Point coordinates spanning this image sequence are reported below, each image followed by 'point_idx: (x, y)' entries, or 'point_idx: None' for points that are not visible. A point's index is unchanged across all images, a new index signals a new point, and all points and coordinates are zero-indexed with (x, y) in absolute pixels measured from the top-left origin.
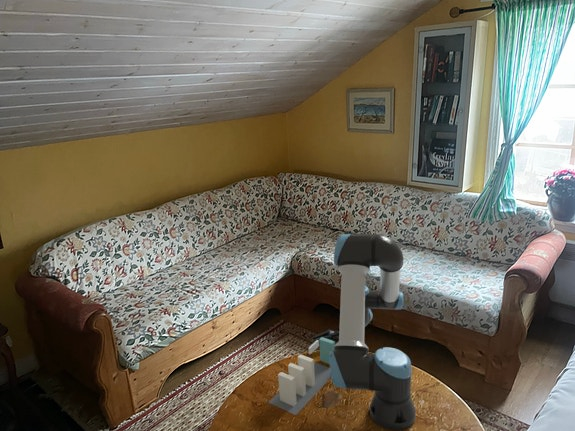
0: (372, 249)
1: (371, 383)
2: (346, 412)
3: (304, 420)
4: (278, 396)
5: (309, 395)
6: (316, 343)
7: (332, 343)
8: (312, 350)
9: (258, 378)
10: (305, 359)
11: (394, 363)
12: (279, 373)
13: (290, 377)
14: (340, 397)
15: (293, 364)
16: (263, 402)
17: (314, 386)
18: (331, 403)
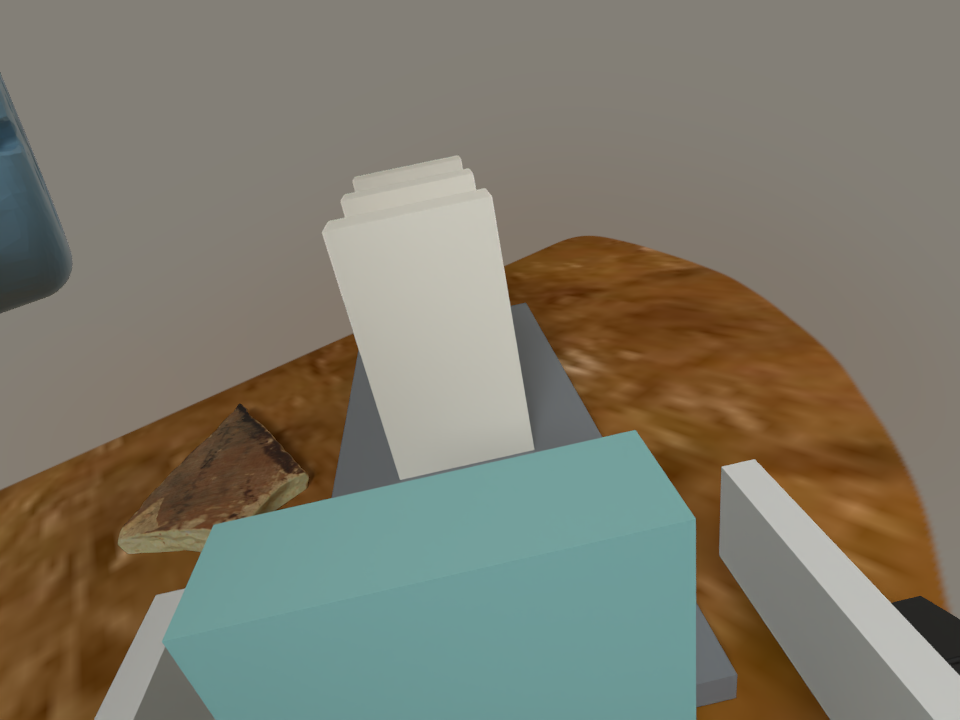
0: None
1: None
2: (98, 497)
3: (318, 364)
4: (519, 330)
5: (371, 412)
6: (890, 693)
7: (212, 532)
8: (759, 588)
9: (768, 329)
10: (394, 208)
11: None
12: (457, 156)
13: (376, 174)
14: (147, 521)
15: (441, 177)
16: (557, 309)
17: (389, 466)
18: (203, 456)
